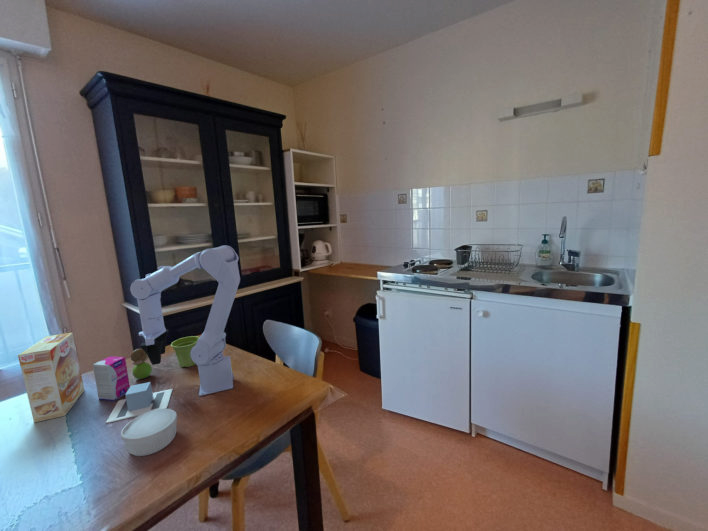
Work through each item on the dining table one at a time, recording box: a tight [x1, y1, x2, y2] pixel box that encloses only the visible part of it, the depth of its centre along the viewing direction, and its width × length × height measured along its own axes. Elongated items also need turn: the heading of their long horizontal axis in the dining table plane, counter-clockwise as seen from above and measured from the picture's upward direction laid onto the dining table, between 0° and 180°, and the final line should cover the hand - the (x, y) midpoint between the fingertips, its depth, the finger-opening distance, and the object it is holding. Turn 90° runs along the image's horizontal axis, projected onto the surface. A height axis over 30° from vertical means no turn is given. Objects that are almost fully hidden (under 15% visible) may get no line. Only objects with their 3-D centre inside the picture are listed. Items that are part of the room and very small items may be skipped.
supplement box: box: [92, 355, 131, 402], centre depth 97 cm, size 6×6×12 cm
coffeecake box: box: [17, 332, 86, 423], centre depth 92 cm, size 15×7×20 cm, turn 23°
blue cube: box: [124, 381, 154, 412], centre depth 91 cm, size 5×5×5 cm
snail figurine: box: [130, 348, 153, 380], centre depth 107 cm, size 5×6×12 cm
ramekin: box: [120, 408, 178, 457], centre depth 76 cm, size 11×11×5 cm
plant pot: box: [170, 335, 200, 368], centre depth 116 cm, size 9×9×9 cm
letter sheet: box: [105, 388, 173, 424], centre depth 92 cm, size 14×11×1 cm
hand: (158, 358), depth 100 cm, fingers open, 7 cm apart
